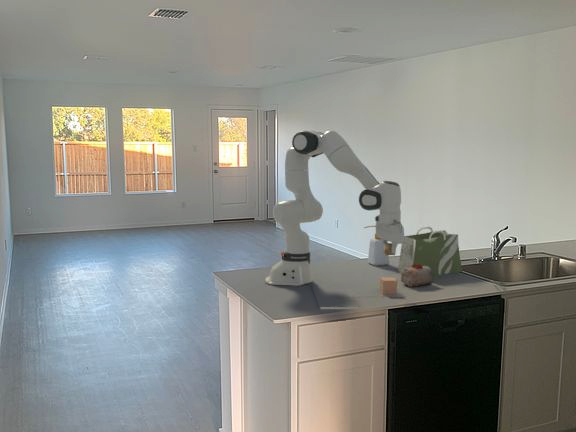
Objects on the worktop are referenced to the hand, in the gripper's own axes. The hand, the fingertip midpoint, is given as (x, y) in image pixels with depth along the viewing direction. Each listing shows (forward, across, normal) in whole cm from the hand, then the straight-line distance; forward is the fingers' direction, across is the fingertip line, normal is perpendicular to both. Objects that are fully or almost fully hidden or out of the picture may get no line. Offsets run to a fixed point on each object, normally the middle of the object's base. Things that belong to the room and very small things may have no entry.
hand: (389, 250), depth 239 cm
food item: (+20, +13, -21) cm, 32 cm away
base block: (+19, 0, 0) cm, 19 cm away
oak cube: (+2, 0, 0) cm, 2 cm away
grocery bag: (+20, +35, -41) cm, 58 cm away
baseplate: (+19, +2, +6) cm, 20 cm away
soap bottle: (+19, +61, -22) cm, 67 cm away
